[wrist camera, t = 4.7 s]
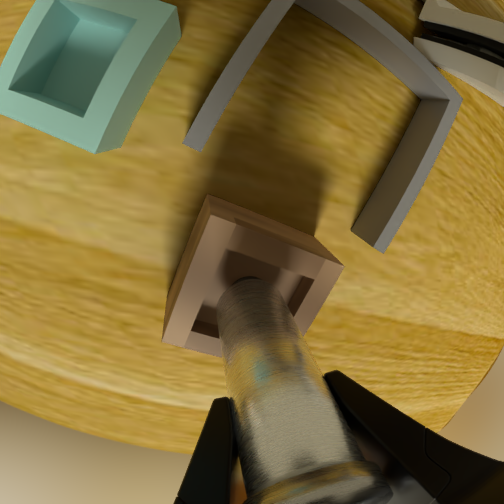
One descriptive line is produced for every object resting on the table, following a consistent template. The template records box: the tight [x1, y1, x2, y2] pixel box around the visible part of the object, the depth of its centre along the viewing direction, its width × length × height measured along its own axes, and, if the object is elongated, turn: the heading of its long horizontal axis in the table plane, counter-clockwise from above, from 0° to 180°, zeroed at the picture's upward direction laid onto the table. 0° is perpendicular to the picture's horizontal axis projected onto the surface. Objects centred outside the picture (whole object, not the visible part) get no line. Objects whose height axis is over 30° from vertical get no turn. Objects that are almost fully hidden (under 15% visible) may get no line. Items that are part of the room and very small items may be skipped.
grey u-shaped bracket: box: [182, 0, 463, 254], centre depth 12 cm, size 10×11×2 cm
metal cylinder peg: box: [216, 279, 394, 504], centre depth 8 cm, size 3×3×9 cm
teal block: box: [0, 0, 182, 154], centre depth 9 cm, size 6×6×4 cm
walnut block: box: [162, 194, 344, 357], centre depth 14 cm, size 6×6×4 cm
